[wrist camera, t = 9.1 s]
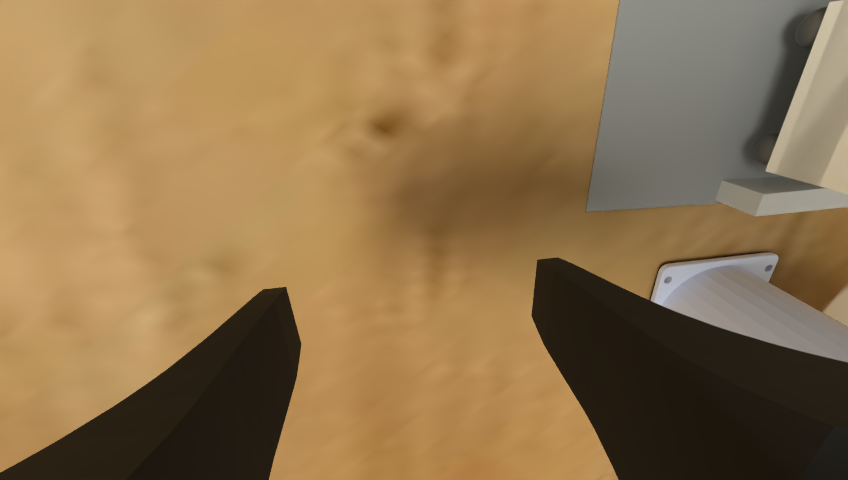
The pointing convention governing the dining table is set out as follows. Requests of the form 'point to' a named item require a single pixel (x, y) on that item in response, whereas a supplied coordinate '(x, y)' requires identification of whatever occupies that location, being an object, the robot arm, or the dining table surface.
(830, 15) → the cream notched block
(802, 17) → the dock
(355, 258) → the dining table surface
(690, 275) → the robot arm
